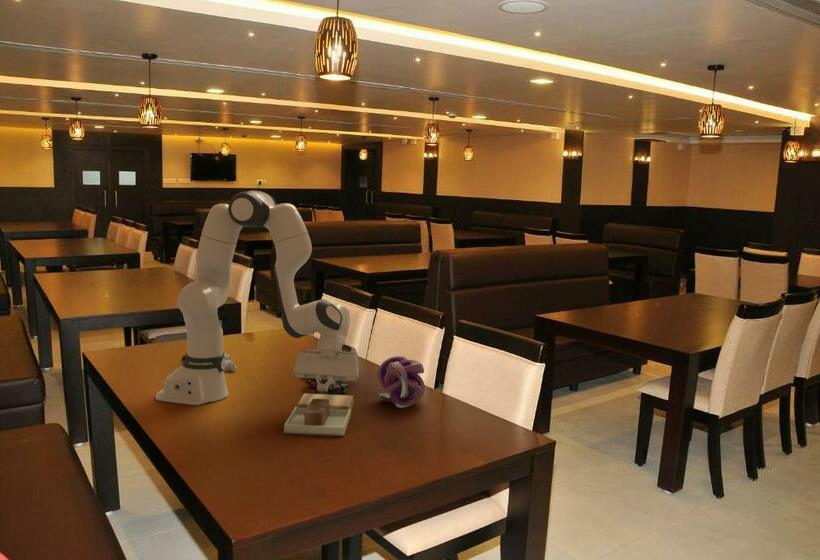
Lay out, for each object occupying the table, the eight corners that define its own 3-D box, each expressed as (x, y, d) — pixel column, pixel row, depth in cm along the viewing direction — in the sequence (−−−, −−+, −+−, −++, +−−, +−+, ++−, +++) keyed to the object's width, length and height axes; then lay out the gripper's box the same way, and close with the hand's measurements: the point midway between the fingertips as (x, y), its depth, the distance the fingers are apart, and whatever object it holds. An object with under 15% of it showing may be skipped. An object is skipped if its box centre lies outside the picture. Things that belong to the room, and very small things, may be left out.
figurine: (328, 360, 233) (358, 382, 206) (328, 375, 234) (357, 399, 207) (295, 363, 227) (321, 386, 201) (295, 378, 228) (321, 404, 202)
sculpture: (425, 418, 198) (433, 379, 215) (412, 377, 191) (421, 340, 208) (379, 422, 202) (390, 384, 219) (364, 382, 195) (378, 345, 212)
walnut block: (312, 414, 191) (304, 429, 179) (312, 398, 190) (304, 412, 178) (328, 414, 190) (321, 429, 179) (329, 399, 190) (321, 413, 178)
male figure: (212, 333, 250) (246, 349, 233) (212, 356, 252) (245, 374, 235) (186, 337, 242) (219, 354, 225) (186, 361, 244) (218, 379, 227)
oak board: (297, 413, 192) (297, 404, 192) (304, 402, 202) (304, 393, 202) (349, 415, 192) (349, 406, 191) (353, 404, 202) (353, 395, 201)
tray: (284, 433, 177) (284, 424, 176) (295, 413, 192) (296, 405, 192) (343, 436, 176) (343, 427, 176) (350, 416, 192) (350, 408, 191)
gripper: (296, 344, 197) (286, 383, 189) (360, 348, 195) (352, 387, 187) (300, 354, 202) (291, 392, 194) (362, 358, 200) (355, 397, 192)
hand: (322, 390), depth 190 cm, fingers closed
